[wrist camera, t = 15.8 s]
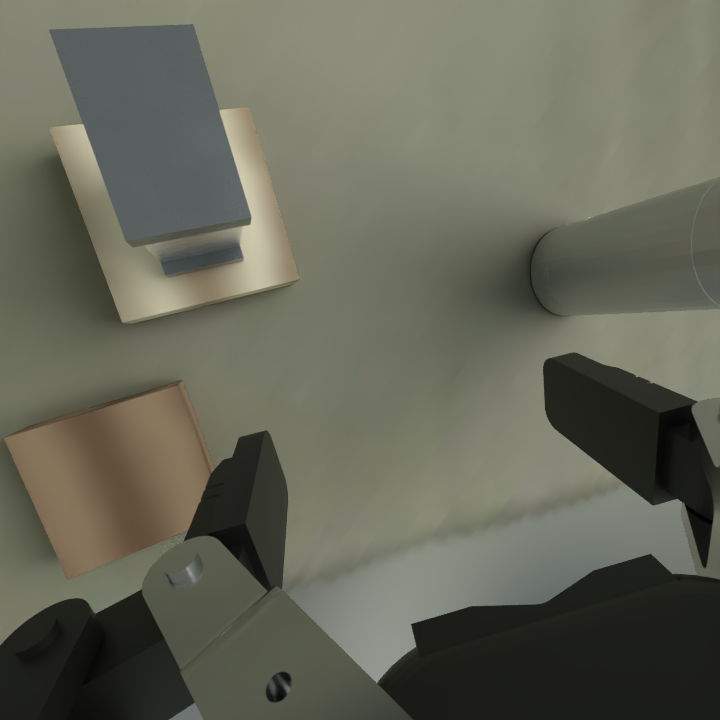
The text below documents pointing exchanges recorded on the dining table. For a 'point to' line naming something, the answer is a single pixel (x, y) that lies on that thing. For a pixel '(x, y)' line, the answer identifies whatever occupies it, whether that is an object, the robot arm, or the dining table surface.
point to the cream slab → (143, 271)
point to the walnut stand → (114, 475)
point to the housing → (158, 141)
